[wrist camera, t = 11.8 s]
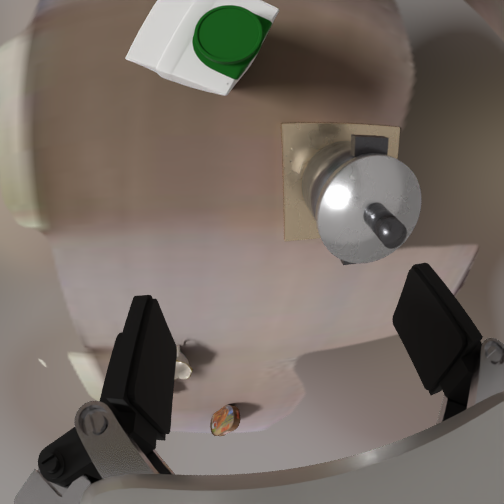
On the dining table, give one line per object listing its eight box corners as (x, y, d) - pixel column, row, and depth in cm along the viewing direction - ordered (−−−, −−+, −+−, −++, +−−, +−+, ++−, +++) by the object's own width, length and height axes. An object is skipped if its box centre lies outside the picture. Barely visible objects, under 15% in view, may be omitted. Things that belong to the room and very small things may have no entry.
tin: (232, 400, 74) (233, 425, 67) (241, 402, 75) (243, 427, 68) (209, 416, 80) (209, 438, 73) (217, 417, 81) (218, 439, 74)
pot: (280, 123, 34) (298, 135, 26) (397, 126, 34) (437, 142, 26) (284, 238, 44) (297, 278, 36) (384, 229, 44) (412, 262, 36)
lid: (316, 153, 27) (338, 171, 22) (423, 155, 27) (455, 173, 22) (312, 263, 35) (326, 297, 29) (405, 252, 35) (427, 279, 30)
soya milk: (229, 98, 31) (229, 109, 15) (165, 73, 28) (99, 63, 12) (261, 43, 27) (299, -2, 11) (197, 16, 24) (166, -48, 8)
